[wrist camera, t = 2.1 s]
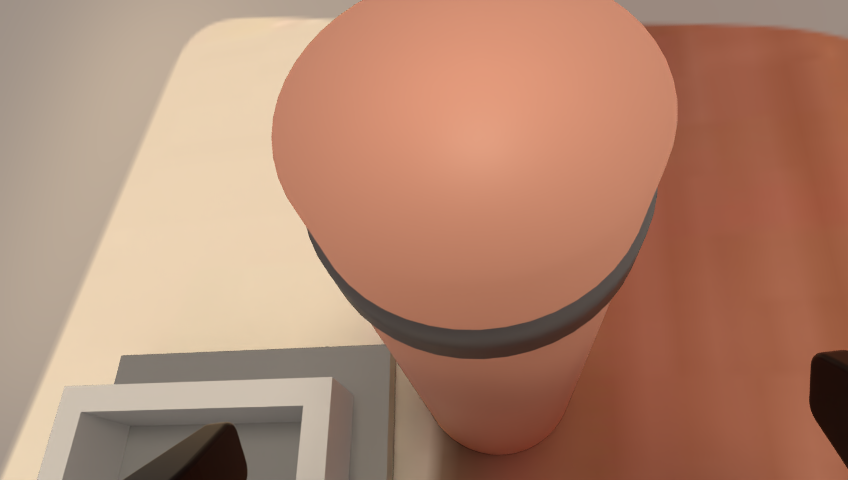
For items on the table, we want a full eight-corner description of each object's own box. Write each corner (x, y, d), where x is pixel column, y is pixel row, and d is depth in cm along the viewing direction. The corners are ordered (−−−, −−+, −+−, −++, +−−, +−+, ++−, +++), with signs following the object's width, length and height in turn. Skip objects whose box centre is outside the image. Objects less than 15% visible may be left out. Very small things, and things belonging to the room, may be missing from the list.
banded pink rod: (583, 456, 18) (739, 277, 6) (420, 459, 18) (234, 304, 6) (564, 302, 20) (642, -60, 8) (421, 309, 21) (288, -16, 9)
